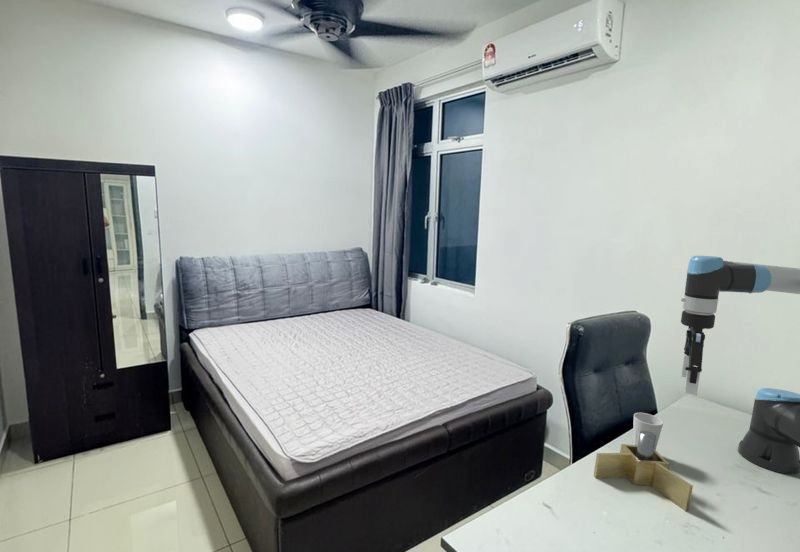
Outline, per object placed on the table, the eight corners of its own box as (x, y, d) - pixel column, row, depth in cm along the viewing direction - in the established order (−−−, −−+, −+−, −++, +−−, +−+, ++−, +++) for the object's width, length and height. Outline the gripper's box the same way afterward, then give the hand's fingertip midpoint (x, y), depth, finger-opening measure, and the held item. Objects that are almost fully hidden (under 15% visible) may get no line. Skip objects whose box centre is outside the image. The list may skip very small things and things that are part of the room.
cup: (629, 457, 130) (635, 421, 128) (626, 444, 138) (632, 410, 136) (659, 464, 127) (665, 427, 126) (654, 451, 135) (660, 416, 133)
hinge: (648, 467, 125) (652, 446, 124) (689, 511, 107) (693, 486, 106) (584, 463, 125) (587, 441, 124) (614, 506, 107) (618, 481, 106)
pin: (643, 472, 123) (650, 431, 121) (651, 480, 119) (659, 438, 117) (630, 471, 123) (637, 430, 121) (637, 479, 119) (644, 437, 117)
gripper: (679, 302, 128) (671, 368, 131) (685, 319, 106) (675, 397, 110) (709, 305, 124) (700, 373, 127) (722, 323, 103) (710, 405, 106)
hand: (688, 385), depth 118 cm, fingers open, 13 cm apart
